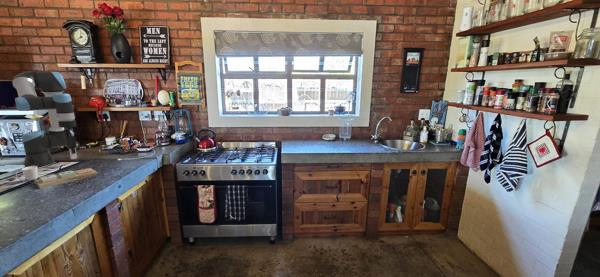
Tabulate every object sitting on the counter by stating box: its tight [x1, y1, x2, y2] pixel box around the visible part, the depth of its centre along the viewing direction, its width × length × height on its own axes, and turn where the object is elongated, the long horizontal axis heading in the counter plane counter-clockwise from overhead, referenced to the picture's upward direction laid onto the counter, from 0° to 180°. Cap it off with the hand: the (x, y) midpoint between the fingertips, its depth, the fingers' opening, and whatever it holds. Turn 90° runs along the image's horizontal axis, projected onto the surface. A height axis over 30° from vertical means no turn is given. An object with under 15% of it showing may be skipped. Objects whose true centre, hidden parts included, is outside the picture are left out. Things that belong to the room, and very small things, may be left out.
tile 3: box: [75, 168, 91, 175], centre depth 158 cm, size 6×6×3 cm
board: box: [33, 167, 99, 190], centre depth 151 cm, size 13×26×2 cm, turn 145°
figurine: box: [118, 138, 137, 156], centre depth 209 cm, size 10×10×12 cm
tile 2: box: [57, 170, 75, 179], centre depth 151 cm, size 6×6×3 cm
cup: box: [15, 166, 39, 182], centre depth 148 cm, size 7×10×8 cm
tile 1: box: [39, 173, 57, 183], centre depth 144 cm, size 6×6×3 cm
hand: (74, 158), depth 153 cm, fingers closed
